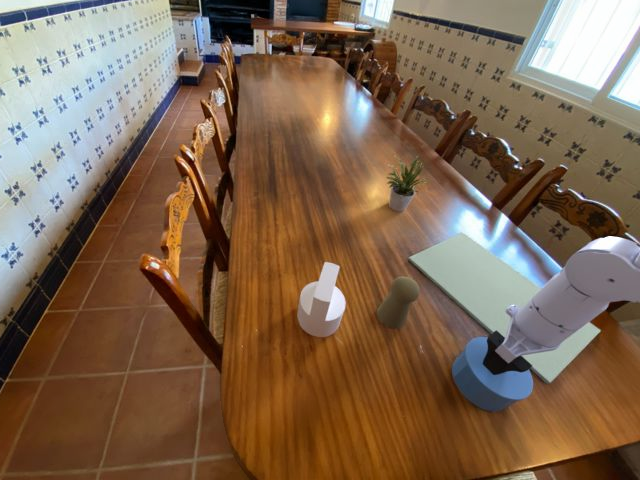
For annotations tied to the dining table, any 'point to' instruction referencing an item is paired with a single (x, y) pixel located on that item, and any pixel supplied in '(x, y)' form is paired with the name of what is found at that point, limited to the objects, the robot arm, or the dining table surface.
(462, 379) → the pot
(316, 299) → the base with upright slab
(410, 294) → the olive pawn figure
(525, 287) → the mat
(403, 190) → the house plant
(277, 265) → the dining table surface
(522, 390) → the pot lid
